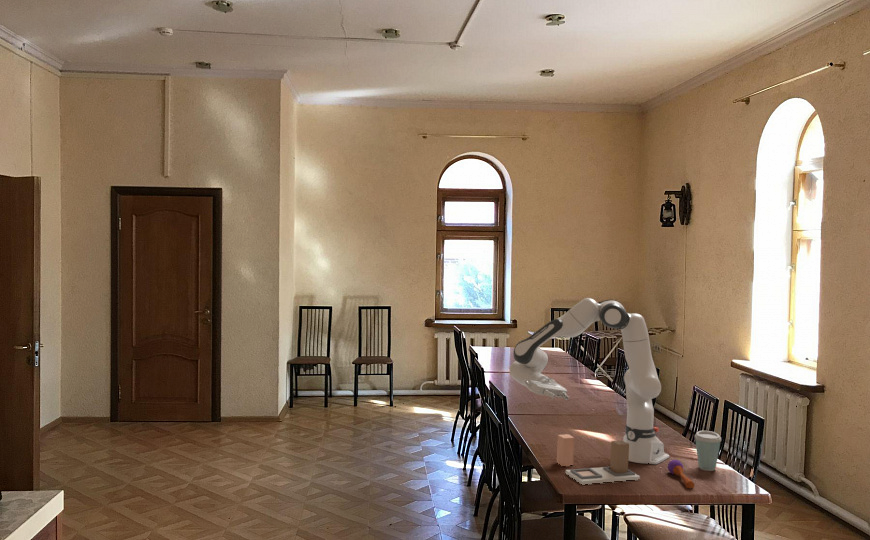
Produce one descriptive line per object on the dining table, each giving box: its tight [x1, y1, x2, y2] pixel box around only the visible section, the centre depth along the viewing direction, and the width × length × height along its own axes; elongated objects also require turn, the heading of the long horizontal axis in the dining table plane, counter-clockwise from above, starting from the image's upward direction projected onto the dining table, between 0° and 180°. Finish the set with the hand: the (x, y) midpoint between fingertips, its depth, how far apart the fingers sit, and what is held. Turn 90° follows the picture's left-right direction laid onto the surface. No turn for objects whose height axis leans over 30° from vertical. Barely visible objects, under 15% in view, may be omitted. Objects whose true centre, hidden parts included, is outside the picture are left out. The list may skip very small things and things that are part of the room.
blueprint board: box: [565, 439, 641, 486], centre depth 278 cm, size 26×13×14 cm, turn 108°
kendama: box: [667, 459, 695, 489], centre depth 278 cm, size 6×6×20 cm
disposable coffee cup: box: [694, 430, 722, 472], centre depth 293 cm, size 11×11×15 cm
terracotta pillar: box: [556, 433, 575, 467], centre depth 291 cm, size 5×5×12 cm
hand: (560, 397), depth 295 cm, fingers open, 8 cm apart
